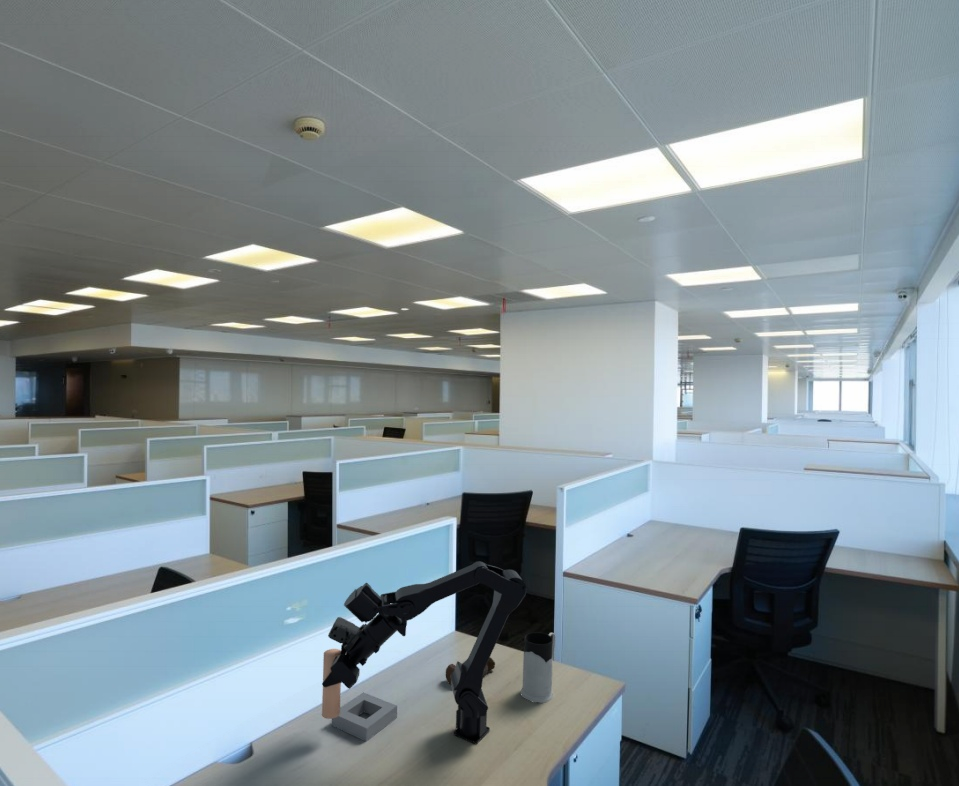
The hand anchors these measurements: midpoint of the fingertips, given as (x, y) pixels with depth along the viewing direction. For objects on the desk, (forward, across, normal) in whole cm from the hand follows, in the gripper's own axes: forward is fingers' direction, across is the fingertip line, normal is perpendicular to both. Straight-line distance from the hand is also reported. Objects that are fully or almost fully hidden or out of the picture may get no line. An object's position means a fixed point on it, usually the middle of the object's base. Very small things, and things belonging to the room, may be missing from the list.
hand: (325, 680), depth 128 cm
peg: (+4, 0, +6) cm, 8 cm away
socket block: (+4, -7, +15) cm, 17 cm away
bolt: (-14, -29, +34) cm, 47 cm away
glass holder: (-28, -24, +47) cm, 60 cm away
